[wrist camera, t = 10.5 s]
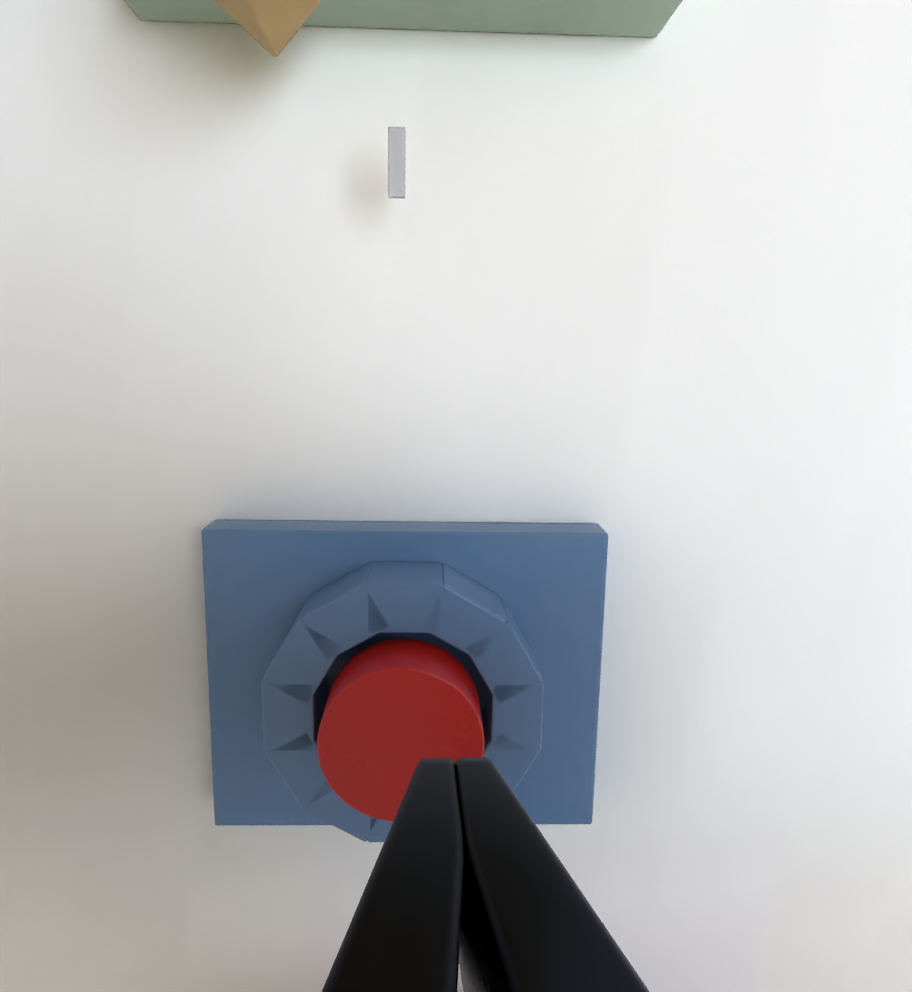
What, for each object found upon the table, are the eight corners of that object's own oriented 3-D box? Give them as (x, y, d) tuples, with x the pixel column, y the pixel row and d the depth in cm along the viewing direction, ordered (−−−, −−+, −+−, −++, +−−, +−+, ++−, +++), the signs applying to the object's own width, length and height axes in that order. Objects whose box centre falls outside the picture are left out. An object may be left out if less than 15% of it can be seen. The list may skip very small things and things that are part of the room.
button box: (598, 523, 20) (627, 552, 17) (583, 799, 21) (607, 870, 18) (214, 519, 20) (176, 548, 17) (226, 799, 21) (193, 872, 18)
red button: (481, 638, 18) (487, 668, 16) (477, 778, 18) (482, 822, 17) (326, 636, 17) (314, 668, 16) (328, 778, 18) (317, 823, 16)
